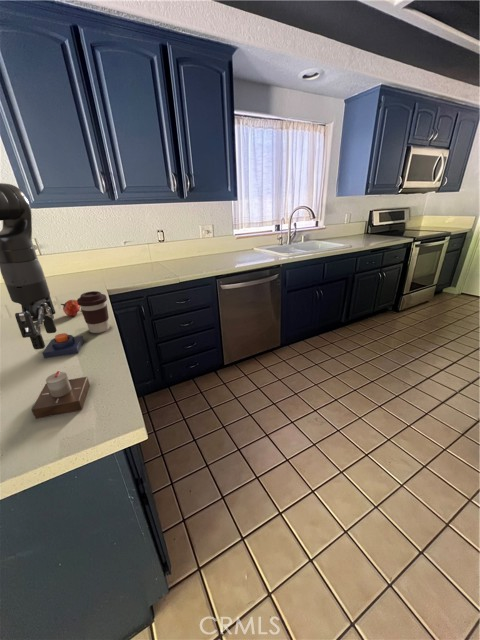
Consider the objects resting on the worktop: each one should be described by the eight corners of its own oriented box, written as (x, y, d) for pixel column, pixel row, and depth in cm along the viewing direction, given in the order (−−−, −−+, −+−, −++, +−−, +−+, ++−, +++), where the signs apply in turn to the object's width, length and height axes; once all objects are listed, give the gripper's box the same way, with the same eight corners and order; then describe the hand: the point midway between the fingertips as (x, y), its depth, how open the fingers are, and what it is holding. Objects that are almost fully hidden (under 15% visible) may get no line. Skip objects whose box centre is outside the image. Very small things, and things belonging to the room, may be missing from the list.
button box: (44, 358, 87) (40, 348, 85) (53, 345, 94) (49, 335, 93) (78, 353, 89) (75, 343, 88) (84, 340, 97) (81, 331, 95)
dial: (69, 395, 66) (64, 379, 64) (49, 399, 65) (42, 383, 63) (73, 384, 70) (68, 369, 68) (53, 388, 69) (48, 372, 67)
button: (54, 343, 88) (53, 338, 88) (58, 338, 91) (56, 334, 91) (66, 341, 89) (65, 337, 89) (69, 337, 92) (68, 332, 92)
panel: (35, 419, 63) (31, 409, 62) (49, 392, 72) (45, 382, 70) (82, 409, 66) (78, 400, 64) (89, 385, 74) (87, 376, 73)
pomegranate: (80, 315, 124) (56, 306, 117) (88, 302, 123) (64, 293, 116) (81, 322, 118) (56, 314, 112) (89, 309, 117) (64, 300, 111)
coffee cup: (86, 337, 99) (76, 300, 93) (84, 327, 107) (74, 292, 101) (115, 331, 104) (106, 295, 98) (111, 322, 112) (103, 288, 105)
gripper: (20, 272, 67) (40, 329, 73) (-11, 290, 54) (16, 356, 61) (54, 270, 68) (70, 326, 75) (31, 287, 56) (53, 352, 63)
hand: (46, 340), depth 68 cm, fingers open, 8 cm apart
